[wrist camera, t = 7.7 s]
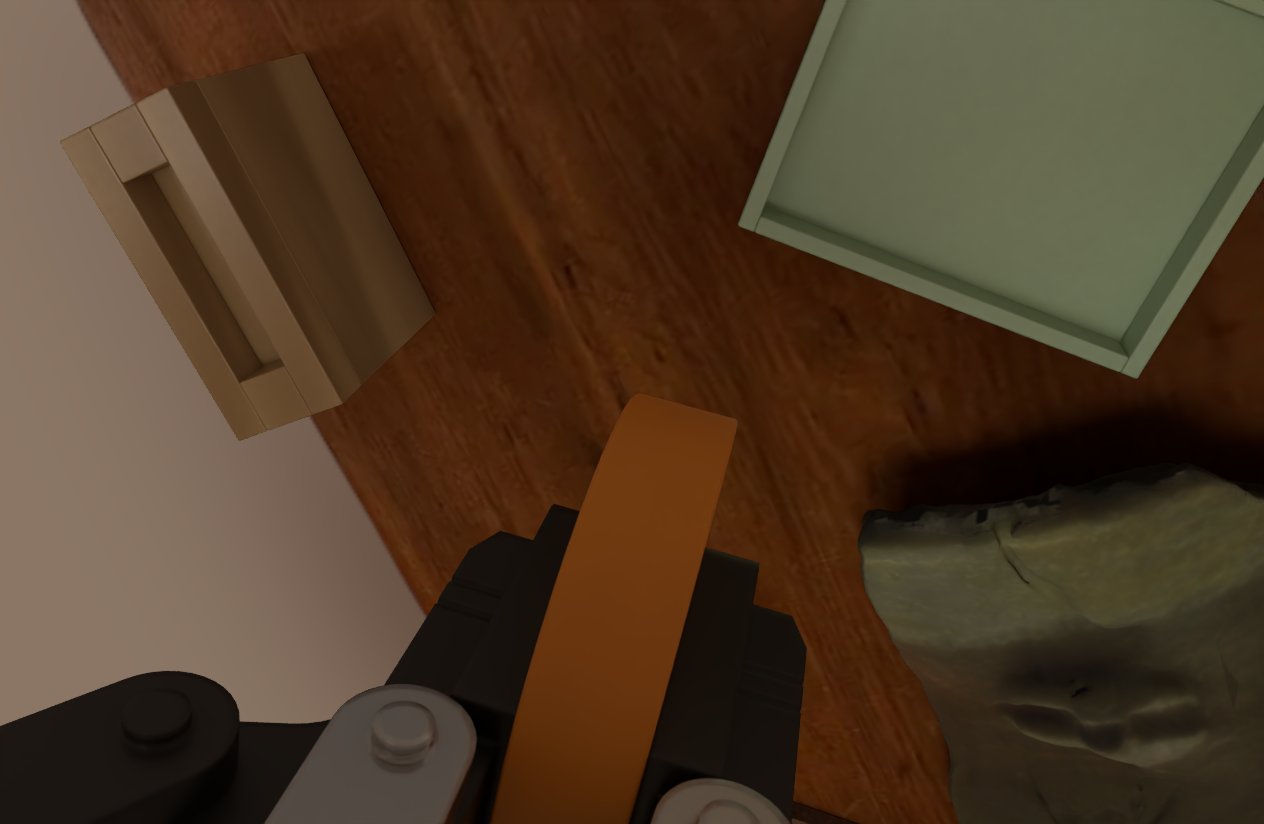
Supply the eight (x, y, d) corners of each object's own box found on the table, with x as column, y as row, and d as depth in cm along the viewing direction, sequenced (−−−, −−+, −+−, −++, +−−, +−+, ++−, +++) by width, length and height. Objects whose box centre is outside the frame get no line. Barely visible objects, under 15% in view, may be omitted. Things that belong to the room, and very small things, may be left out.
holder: (347, 347, 42) (238, 441, 34) (212, 98, 39) (58, 141, 31) (436, 314, 41) (342, 404, 33) (304, 52, 37) (166, 87, 30)
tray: (742, 212, 37) (737, 226, 35) (883, -147, 32) (885, -151, 30) (1124, 358, 37) (1137, 380, 35) (1331, 20, 31) (1359, 26, 30)
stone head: (1030, 1043, 47) (796, 559, 36) (1039, 876, 53) (842, 425, 43) (1596, 1100, 37) (1499, 457, 26) (1521, 886, 43) (1419, 303, 33)
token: (591, 653, 16) (450, 1038, 11) (668, 308, 13) (521, 624, 8) (666, 676, 16) (558, 1075, 11) (761, 333, 13) (673, 670, 8)
